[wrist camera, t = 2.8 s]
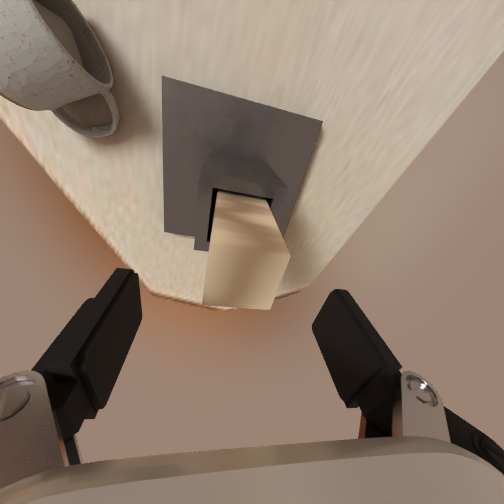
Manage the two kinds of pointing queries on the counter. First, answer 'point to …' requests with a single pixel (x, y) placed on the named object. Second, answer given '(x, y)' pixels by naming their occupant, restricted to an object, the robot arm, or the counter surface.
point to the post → (244, 253)
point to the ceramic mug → (53, 60)
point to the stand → (228, 155)
